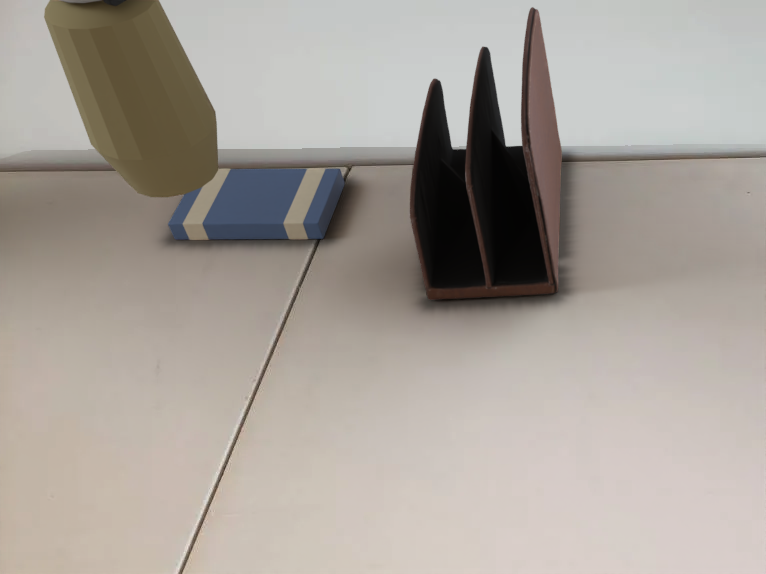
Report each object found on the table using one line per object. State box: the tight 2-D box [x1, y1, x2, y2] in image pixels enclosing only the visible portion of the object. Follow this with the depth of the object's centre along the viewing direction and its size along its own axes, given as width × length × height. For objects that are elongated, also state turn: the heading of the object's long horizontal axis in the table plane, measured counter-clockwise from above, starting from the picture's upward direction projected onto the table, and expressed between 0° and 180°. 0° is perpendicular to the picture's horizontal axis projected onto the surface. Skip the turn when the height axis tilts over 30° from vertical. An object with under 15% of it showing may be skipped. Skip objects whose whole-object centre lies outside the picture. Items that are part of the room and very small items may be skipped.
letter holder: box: [409, 6, 563, 301], centre depth 82 cm, size 10×20×14 cm, turn 5°
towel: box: [167, 167, 346, 241], centre depth 88 cm, size 8×12×2 cm, turn 90°
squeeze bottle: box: [43, 0, 219, 198], centre depth 68 cm, size 8×8×18 cm
